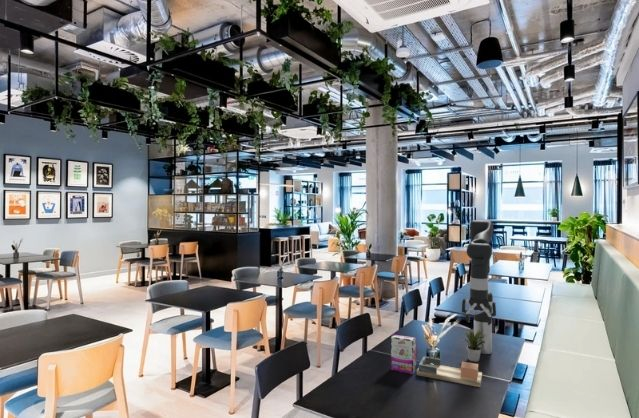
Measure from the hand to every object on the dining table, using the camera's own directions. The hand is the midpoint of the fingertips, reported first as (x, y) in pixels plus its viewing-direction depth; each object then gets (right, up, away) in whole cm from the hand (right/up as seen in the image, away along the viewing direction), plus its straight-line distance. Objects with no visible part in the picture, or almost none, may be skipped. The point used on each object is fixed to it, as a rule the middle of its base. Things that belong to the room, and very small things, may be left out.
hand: (478, 323), depth 178 cm
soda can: (-26, -27, +22) cm, 44 cm away
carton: (-2, -25, +5) cm, 26 cm away
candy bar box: (-31, -27, +14) cm, 44 cm away
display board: (-10, -27, +9) cm, 31 cm away
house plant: (+9, -27, +27) cm, 40 cm away
